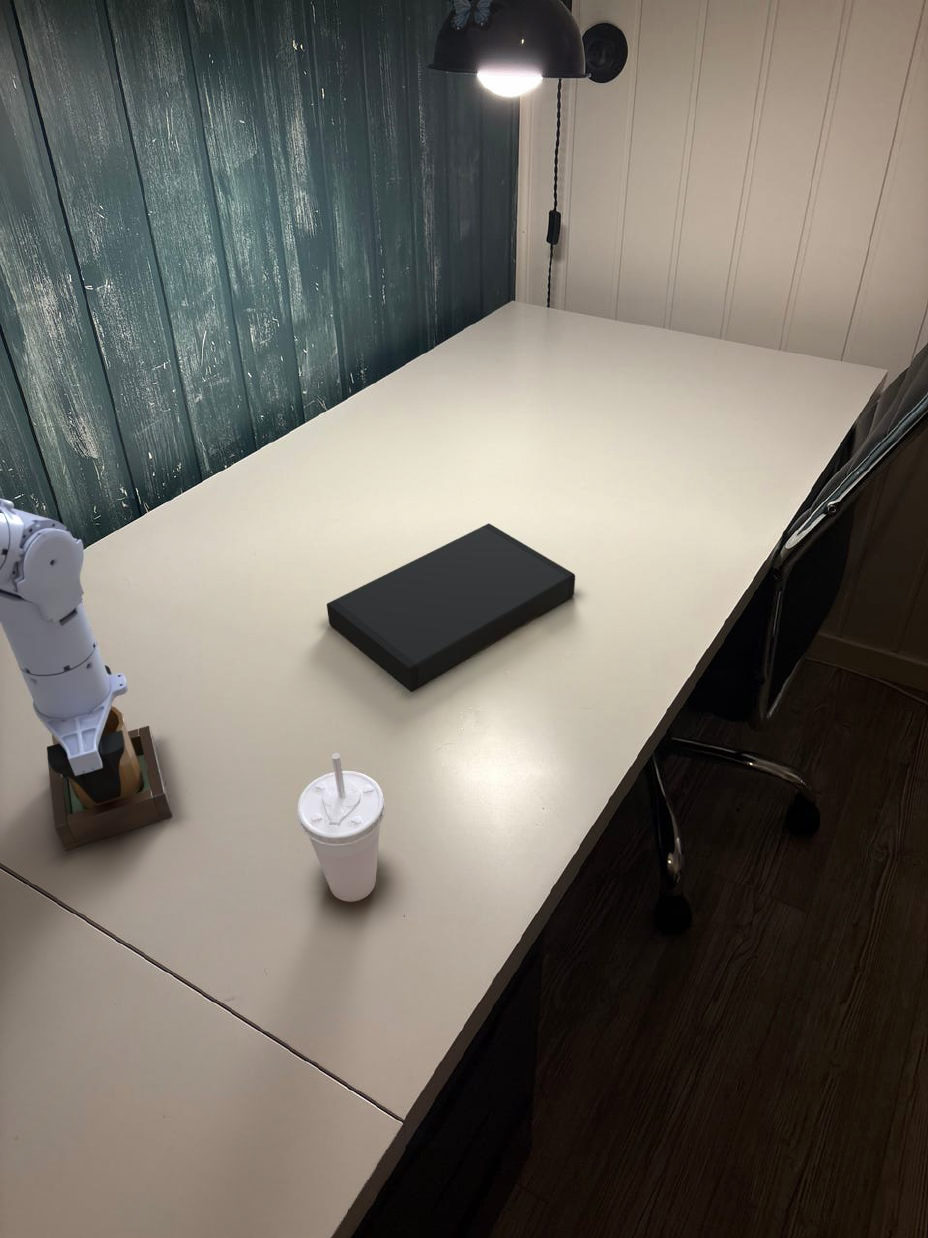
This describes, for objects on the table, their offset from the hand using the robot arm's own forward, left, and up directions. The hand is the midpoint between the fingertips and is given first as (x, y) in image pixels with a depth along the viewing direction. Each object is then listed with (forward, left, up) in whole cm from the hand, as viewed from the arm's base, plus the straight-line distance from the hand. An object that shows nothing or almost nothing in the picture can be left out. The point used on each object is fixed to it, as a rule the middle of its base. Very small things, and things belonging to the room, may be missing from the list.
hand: (103, 771), depth 78 cm
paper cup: (0, 0, -2) cm, 2 cm away
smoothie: (+17, -17, -3) cm, 24 cm away
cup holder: (0, 0, -3) cm, 3 cm away
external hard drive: (+38, +12, -3) cm, 40 cm away
